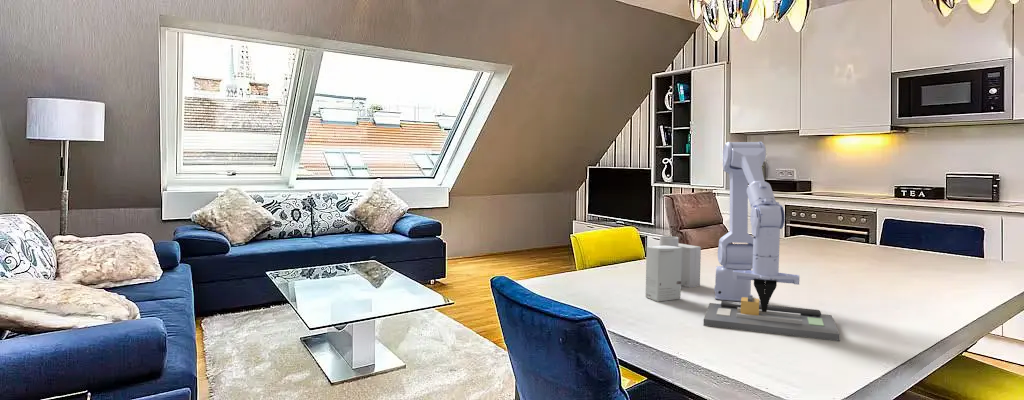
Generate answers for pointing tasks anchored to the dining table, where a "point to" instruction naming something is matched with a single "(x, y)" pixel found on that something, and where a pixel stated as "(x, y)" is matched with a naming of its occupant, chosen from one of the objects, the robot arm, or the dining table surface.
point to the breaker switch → (750, 305)
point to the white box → (686, 261)
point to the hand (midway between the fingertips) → (764, 310)
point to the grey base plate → (773, 320)
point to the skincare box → (663, 273)
